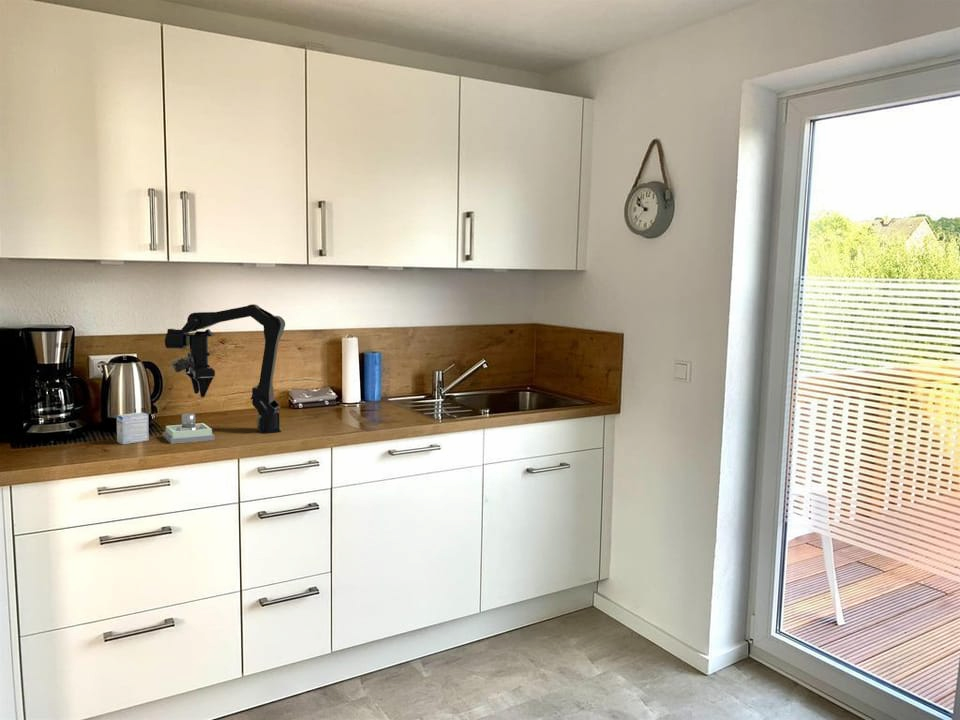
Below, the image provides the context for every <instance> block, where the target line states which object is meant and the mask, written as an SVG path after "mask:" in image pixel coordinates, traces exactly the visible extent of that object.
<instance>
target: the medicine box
mask: <svg viewBox="0 0 960 720" xmlns="http://www.w3.org/2000/svg"><path fill="white" fill-rule="evenodd" d="M116 437H117V438H116V441H117V443H118V444H121V445H128V444H134V443H142V442H149V414H148V413H145V412H133V413H124V414H117V415H116Z"/></svg>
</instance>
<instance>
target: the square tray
mask: <svg viewBox="0 0 960 720" xmlns="http://www.w3.org/2000/svg"><path fill="white" fill-rule="evenodd" d="M195 425H197V426H201V429H199V430H187V431H176V427H177V426H182V424H175V425H174V424H173V425H165V431H163V432H162V433H163V434H162V437H163V439H165V440H166V441H167V442H169V444H170V445H173V444H184V443H185V444H186V443H194V442H196V443H197V442H207V441H215V440H216V439H215V437H216V436H215V434H213V428H211V427H209V426H208V425H207V424H205V423H204V422H200V423H195Z"/></svg>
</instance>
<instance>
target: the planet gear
mask: <svg viewBox="0 0 960 720" xmlns="http://www.w3.org/2000/svg"><path fill="white" fill-rule="evenodd" d="M195 424H196V414H195V413H183V414H181V425H182V426H177V427H176V431H187V430H199V429H201V426H197V425H195Z"/></svg>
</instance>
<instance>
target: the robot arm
mask: <svg viewBox="0 0 960 720" xmlns="http://www.w3.org/2000/svg"><path fill="white" fill-rule="evenodd" d="M249 317H250V318H252V319H254V320H255V322H257V323H259V325H261V326H262V327H263V337H264V350H263V356H262V363H261V367H260V369H261V371H260V376H259V381H258V382H259V383H258V384H257V385H255V386H253V387H252V389H251V390H252V391H251V393H252V394H251V397H250V401H251V404H252V406H253V407H254V408H255V409H256V410H257V413H258V417H257V418H256V426H257V427H256V429H257V431H258V432H260V433H262V434H267V433H278V432H282V429H280V425H281V424H280V412H279V411H280V408H281V405H280V404H279V403H278V402H277V401H276V400H275V395H274V394H275V393H274V392H275V391H274V386H273V380H274V374H275V367H276V361H277V360H276V359H277V353H278V346H279V342H280V340H281V338H282V336H283V333H284V330H285V327H286V321H285V319H283V317H281V316H280V315H274V314H272V313H271V312H269V311H267V310H265V309H263V308H261V307H260V306H259V305H258V304H248V305H245V306H240V307H235V308H229V309H224V310H220V311H219V310H218V311H202V312H201V311H199V312H191V313H190V314H189V315H188V316H187V321H186V323H185V324H184V325H183V327H182V328H181V329H179V328H178V329H176V328H167V332H166V335H165V338H164V346H165V348H166V349H167V350H168V349H169V350H186V349H187V347H189V351H188V352H187V356H185V357H181V358H180V359H179V358H178V359H176V360H173V361H172V362H171V366H172V369H173V371H174V372H175V373H180V372H182V371H183V372H184V374H185V375H186V376H187V377H189V379H190V382H191V385H192V389H193V392H194V394H199V395H200V398H205V396H206V395H207V392H208V391H209V387H210V385H211V383H212V381H213V380H214V379H215V377H216V370H215V369H214V368H213V367H211V366H210V364H209V357H210V352H209V343H208V342H209V339H208V338H209V337H210V338H211V337H214V336H215V333H214V332H212V331H211V330H210V329H209V327H212V326H215V325H217V324H219V323H222V322H223V323H224V322H229V321H233V320H238V319H239V320H240V319H244V318H249ZM204 329H205V330H204ZM200 330H201V331H200ZM202 330H204V331H202ZM194 332H195V333H194Z"/></svg>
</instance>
